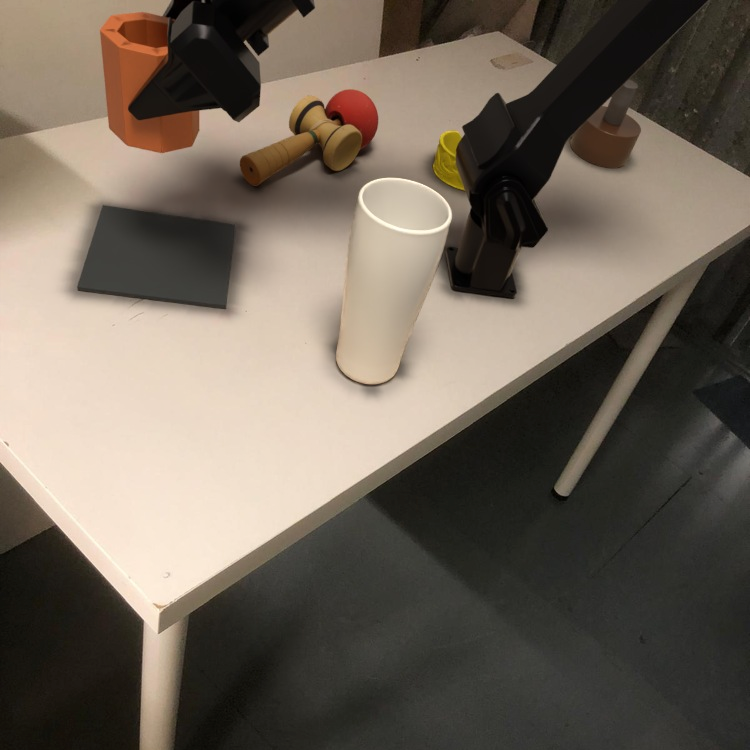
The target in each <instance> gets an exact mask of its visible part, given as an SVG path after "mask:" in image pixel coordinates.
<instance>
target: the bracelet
mask: <svg viewBox="0 0 750 750" xmlns="http://www.w3.org/2000/svg"><path fill="white" fill-rule="evenodd" d="M462 137H463V136H462V135H461V133H460V132H459V131H457V130H448V131H447V130H446V131H444V132H443V133H442V134H441V135H440V137H439V140H438V144H437V148H436V152H435V155H434V162H433V164H432V169H433V173H434V174H435V175H436V177H437V178H438V179H439V180H440V181H442V182H443V183H444V184H446V185H448V186H450V187H453V188H455V189H458V190H461V191H465V189H464V186H463V183H462V181H461V178H460V175H459V172H458V169H457V166H456V148H457V145H458V143H459V142H460V140H461V139H462Z"/></svg>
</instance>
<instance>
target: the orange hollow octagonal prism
mask: <svg viewBox="0 0 750 750" xmlns="http://www.w3.org/2000/svg"><path fill="white" fill-rule="evenodd" d="M168 20H169V18H167V17H163V15H159V14H158V15H157V14H155V13H150V12H146V11H145V12H144V11H139V12H129V13H121V14H120V13H119V14H112V15H110V16H108V18H107V20H106V21H105V23H104V24H103V25H102V26H101V27H100V28H99V35H100V37H99V38H100V48H101V57H102V69H103V77H104V78H103V79H104V87H105V88H104V90H105V101H106V110H107V122H108V129H109V130H110V131H111V132H112V133H113V134H114V135H115V136H116V137H117V138H118V139H119V140H120V141H121V142H122V143H123V144H125V145H126V146H127V147H130V148H131V147H132V148H134V149H135V148H136V149H141V150H145V151H149V152H154V153H157V154H165V153H170V152H174V151H179V150H183V149H187V148H191V147H193V145H194V143H195V141H196V139H197V137H198V135H199V132H200V110H199V111H190V112H184V113H178V114H172V115H167V116H161V117H156V118H150V119H144V120H137V119H136V118H135V117H134V116H133V115H132V114H131V113H130V112H129V111H128V105H129V104H130V102H131V101H132V99H133V98H134V97H135V95H136V94H137V92H138V91H139V90H140V88H141V87H142V86H143V85H144V83H145V82H146V81H147V79H148V78H149V77H150V75H151V74H152V73H153V71H154V70H155V69H156V68H157V66H158V65H159V64H160V62H161V61H162V60H163V58H164V57H165V56H166V55H167V53H168V45H167V29H168ZM172 20H173V21H174V22H175V20H176V19H172Z"/></svg>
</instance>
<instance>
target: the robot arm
mask: <svg viewBox="0 0 750 750" xmlns="http://www.w3.org/2000/svg"><path fill="white" fill-rule="evenodd" d="M709 1H710V0H616V1H615V3H613V5H612V6H611V7H610V8H609V9H608V10H606V12H605V13H604V14H603V15H602V16H601V18H600V19H598V21H596V22H595V23H594V25H593V26H591V28H590V29H589V30H588V31H587V32H586V34H584V35H583V37H581V39H580V40H579V41H578V42H577V43H576V44H575V45H574V46H573V47H572V48H571V49H570V50H569V51H568V52H567V54H565V56H564V57H563V58H562V59H561V60H560V61H559V62H558V63H556V65H555V66H554V67H553V69H551V71H550V72H549V73H548V74H547V75H546V76H545V77H544V78H543V79H542V80H541V81H540V82H539V83H538V84H537V86H536V87H535V88H533V89H532V90H531V91H530V92H529V93H528V94H526V95H523V96H521V97H519V98H516V99H513V100H512V101H509V102H507V103H506V101H505V99H504V98H503V97H502V95H501V93H500V92H496V93H494V94H493V95H492V96H490V97H489V99H488V100H487V102H486V104H485V105H484V107H483V108H482V109H481V111H480V112H479V113H478V115H476V116H475V117H474V118H473V119H472V120H470V121H469V122H466V123H465V124H463V125H462V127H461V128H462V132H463V135H462V136H461V137H462V139H461V140H460V142H459V143H458V145H457V148H456V154H455V155H456V166H457V169H458V172H459V175H460V178H461V181H462V183H463V186H464V189H465V190H464V191H465V194H466V197H467V199H468V202H469V205H470V209H469V212H468V215H467V219H466V222H465V224H464V227H463V231H462V235H461V237H460V240H459V242H458V246H451V245H449V246H446V248H445V257H446V264H447V270H448V275H449V281H450V285H451V288H452V289H453V290H455V291H459V292H468V293H473V294H481V295H488V296H497V297H504V298H511V299H512V298H515V297H517V294H518V291H517V286H516V283H515V279H514V275H513V269H514V267H515V264H516V262H517V260H518V257H519V254H520V252H521V250H522V248H527V249H529V248H530V249H534V248H535V247H536V246H537V245H538V243H539V242H541V240H542V239H543V237H544V236H546V234H547V233H548V232H549V228H548V225H547V224H546V222H545V218H544V217H543V215H542V213H541V211H540V208H539V206H538V204H537V202H536V200H535V199H536V198H537V196H538V195H539V194H540V192H541V191H542V190H543V189H544V187H545V186H546V185H547V184H548V182H549V181H550V179H551V177H552V175H553V173H554V170H555V168H556V167H557V164H558V161H559V160H560V157H561V155H562V152H563V150H564V148H565V146H566V144H567V142H568V141H569V140H570V138H572V137H573V134H574V133H575V132H576V131H577V130H578V129H579V128H580V127H581V126H582V125H583V124H584V123H585V122H586V121H587V120H588V119H589V118H590V117H591V116H592V115H593V114H594V113H595V112H596V111H597V110H598V109H599V108H600V107H601V106H604V105H605V103H607V102H608V101H609V100H610V99H611V98H612V96H613V95H614V94H615V93H616V92H617V91H618V90H619V89H620V88H621V87H622V86H623V85H624V84H625V83H626V82H627V81H628V80H631V78H632V77H633V76H634V75H635V74H636V73H637V72H638V71H639V70H641V68H642V67H643V66H645V64H646V63H647V62H648V61H650V59H651V58H652V57H654V55H656V53H658V51H659V50H661V48H662V47H663V46H664V45H666V44H667V43H668V42H669V41H670V40H671V39H672V38H673V37H674V36H675V35H676V33H678V32H679V31H680V30H681V29H682V28H683V27H684V26H685V25H686V24H688V22H689V21H690V20H691V19H692V18H693V17H694V16H695V15H696V14H697V13H698V12H699V11H700V10H701V9H702V8H703V7H704V6H705V5H706V4H707V3H708V2H709ZM315 5H316V4H315V0H171V1H170V2H169V4H168V5H167V7H166V9H165V10H164V12H163V14H162V16H163V17H167V18H169V20H168V29H167V45H168V53H167V55H166V56H165V57H164V58H163V60H162V61H161V62H160V64H159V65H158V66H157V68H156V69H155V70H154V71H153V73H152V74H151V75H150V77H149V78H148V79H147V81H146V82H145V83H144V85H143V86H142V87H141V88H140V90H139V91H138V92H137V94H136V95H135V97H134V98H133V99H132V101H131V102H130V104H129V105H128V111H129V112H130V113H131V114H132V115H133V116H134V117H135V118H136V119H137V120H144V119H150V118H156V117H161V116H167V115H172V114H178V113H184V112H190V111H199V112H200V111H208V110H217V109H222V110H223V111H224V112H225V113H226V114H228V116H229V117H230V118H231V120H233V121H234V122H237V123H240V122H241V121H243V120H244V119H245V118H247V117H248V116H249V115H250V114H251V113H252V112H254V111H255V110H256V109H258V108H259V107H260V105H261V93H262V92H261V88H262V79H261V64H260V61H259V60H258V59H257V57H256V56H255V55H254V54H253V52H252V51H251V50H250V49H249V47H248V46H247V45H246V44H245V41H246V42H247V44H248V45H249V46H250V48H251V49H252V50H253V51H254V53H255V54H256V55H257V56H258V57H260V55H262V54H263V53H264V52H266V50H267V49H269V48H270V41H269V35H270V34H271V33H272V32H274V31H275V30H276V29H277V28H279V26H281V25H282V24H283V23H284V22H285V21H286V20H287V19H289V18H290V17H291V16H292V15H293V14H295V12H297V11H298V12H299V14H300V15H301V16H302V18H303V19H304V18H306V17H307V16H308V15H309V14H311V13H312V12H313V11H314V10H315V9H316V6H315ZM172 19H176V20H175V22H174V21H173V20H172Z"/></svg>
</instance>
